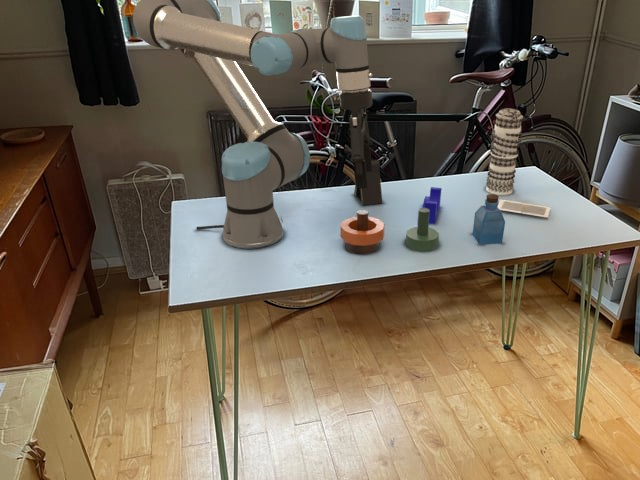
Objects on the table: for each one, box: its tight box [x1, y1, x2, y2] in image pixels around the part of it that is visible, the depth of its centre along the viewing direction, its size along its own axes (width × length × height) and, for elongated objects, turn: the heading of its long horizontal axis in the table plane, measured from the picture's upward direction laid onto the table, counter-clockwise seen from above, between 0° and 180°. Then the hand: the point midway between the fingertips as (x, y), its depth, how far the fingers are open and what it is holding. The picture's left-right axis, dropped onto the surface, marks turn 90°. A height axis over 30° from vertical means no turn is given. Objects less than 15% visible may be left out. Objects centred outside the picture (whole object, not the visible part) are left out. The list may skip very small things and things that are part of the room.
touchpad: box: [497, 198, 552, 218], centre depth 170 cm, size 8×15×2 cm, turn 70°
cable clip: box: [422, 186, 442, 225], centre depth 166 cm, size 12×4×6 cm, turn 168°
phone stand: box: [353, 159, 383, 206], centre depth 172 cm, size 9×6×12 cm, turn 19°
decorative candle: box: [485, 107, 524, 196], centre depth 178 cm, size 9×9×25 cm
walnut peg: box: [345, 209, 380, 255], centre depth 147 cm, size 8×8×10 cm
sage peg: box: [405, 207, 440, 252], centre depth 149 cm, size 8×8×10 cm
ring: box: [339, 216, 386, 246], centre depth 147 cm, size 11×11×3 cm
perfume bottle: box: [472, 193, 506, 245], centre depth 152 cm, size 6×6×12 cm
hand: (364, 179), depth 144 cm, fingers open, 13 cm apart
